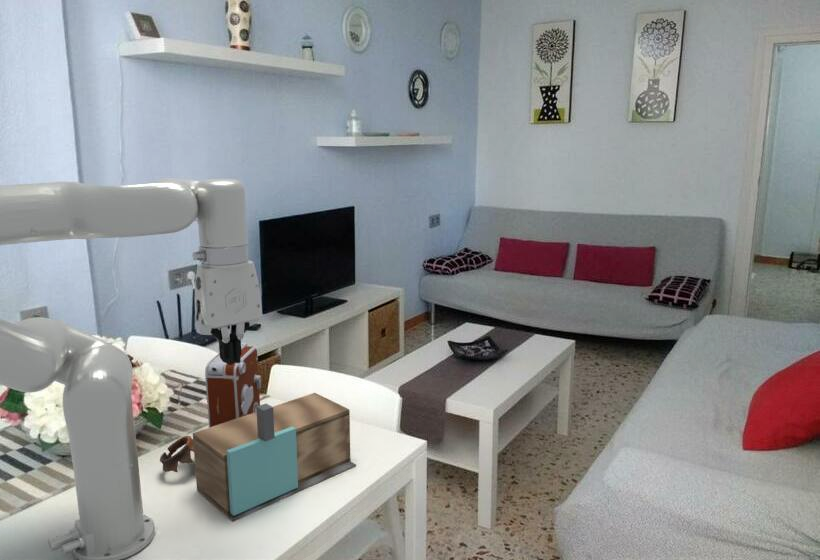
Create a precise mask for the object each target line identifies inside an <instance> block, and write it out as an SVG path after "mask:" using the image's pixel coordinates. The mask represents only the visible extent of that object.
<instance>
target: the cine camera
mask: <svg viewBox="0 0 820 560" xmlns="http://www.w3.org/2000/svg"><path fill="white" fill-rule="evenodd" d="M241 351H242V354H241V356H240V359H241V362H240V363H235V362H234V363H233V365H229V364H227V363H225V362H223V361H222V359H221V358H220V354H219V353H218V354H216V355H215V356H214V357H213V358H212V359H210V361H208V362H207V364H206V366H205V369H204V370H205V371H204V372H205V373H204V375H205V379H204V380H205V388H206V389H205V390H206V404H207V421H208V428H209V427H212V426H215V425H219V424H222V423H225V422H228V421H231V420H234V419H237V418H240V417H243V416H246V415H249V414H252V413H255V412H257V410H256V406H259V405H261V399H260V398H261V397H260V396H261V395H260V390H261V388H262V385H261V383H262V376H261V375H259V358H258V357H259V356H258V350H257V347H255V346H248V343H247V342H241Z"/></svg>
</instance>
